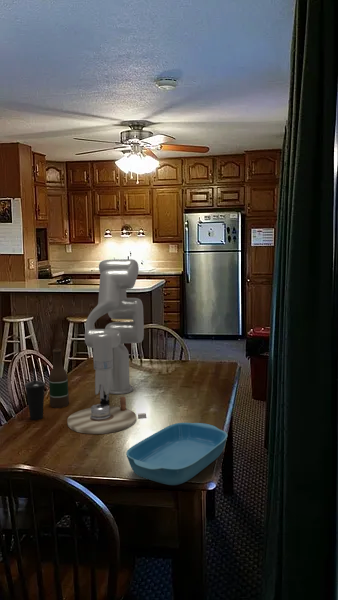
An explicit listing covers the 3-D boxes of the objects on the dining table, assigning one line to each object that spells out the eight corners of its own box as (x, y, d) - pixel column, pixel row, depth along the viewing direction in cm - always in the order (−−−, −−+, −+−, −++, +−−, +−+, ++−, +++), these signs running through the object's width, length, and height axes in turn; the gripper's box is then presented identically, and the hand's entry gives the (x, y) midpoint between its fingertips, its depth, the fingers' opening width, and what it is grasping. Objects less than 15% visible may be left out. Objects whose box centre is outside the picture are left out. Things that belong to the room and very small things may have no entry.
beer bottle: (72, 403, 222) (70, 348, 219) (61, 409, 215) (58, 352, 212) (57, 401, 225) (55, 346, 222) (46, 406, 218) (43, 350, 215)
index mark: (138, 418, 202) (138, 414, 201) (138, 417, 203) (137, 413, 203) (146, 417, 202) (146, 414, 202) (145, 416, 204) (145, 412, 203)
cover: (86, 416, 200) (86, 406, 200) (103, 412, 205) (103, 401, 205) (97, 421, 194) (97, 410, 194) (114, 416, 199) (114, 406, 199)
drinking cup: (29, 422, 200) (26, 371, 197) (24, 416, 207) (21, 367, 204) (48, 419, 203) (46, 369, 201) (44, 413, 210) (41, 364, 208)
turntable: (53, 422, 199) (52, 406, 198) (105, 405, 218) (105, 390, 217) (97, 439, 181) (96, 421, 180) (150, 419, 200) (149, 403, 199)
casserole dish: (177, 499, 140) (176, 473, 139) (113, 479, 152) (112, 455, 152) (238, 450, 170) (238, 429, 170) (180, 437, 183) (180, 417, 182)
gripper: (97, 359, 211) (99, 403, 213) (89, 369, 196) (91, 416, 198) (116, 359, 210) (117, 403, 213) (109, 369, 196) (111, 416, 198)
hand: (105, 409), depth 205 cm, fingers closed
